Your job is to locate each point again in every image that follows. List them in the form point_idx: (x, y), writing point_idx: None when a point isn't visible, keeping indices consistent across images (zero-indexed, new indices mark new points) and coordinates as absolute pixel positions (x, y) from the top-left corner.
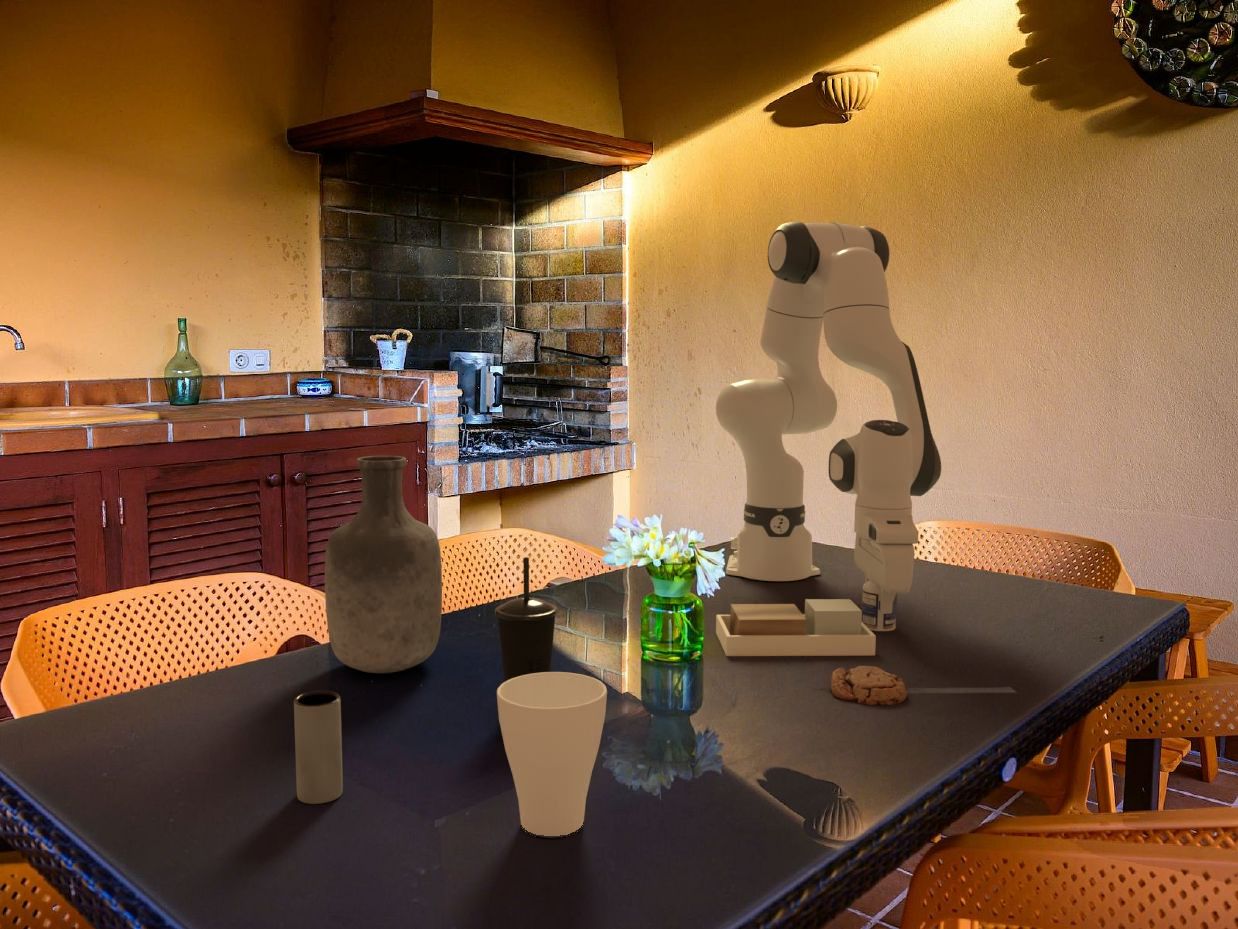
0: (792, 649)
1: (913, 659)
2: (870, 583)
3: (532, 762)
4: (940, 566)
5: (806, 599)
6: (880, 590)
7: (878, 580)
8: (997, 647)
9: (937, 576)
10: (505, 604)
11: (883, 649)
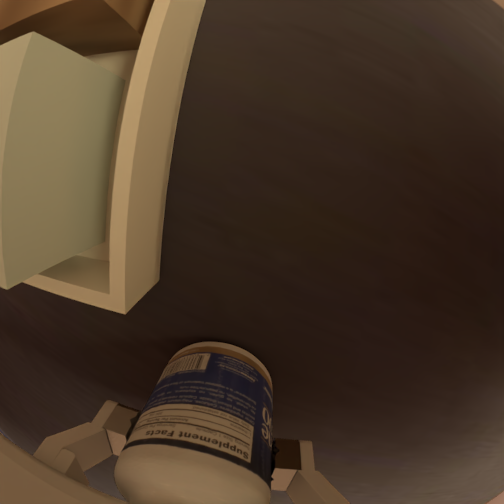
0: None
1: (5, 320)
2: (158, 491)
3: None
4: (498, 492)
5: (28, 38)
6: (72, 457)
7: (7, 463)
8: (101, 472)
9: (479, 495)
10: None
11: (46, 298)
